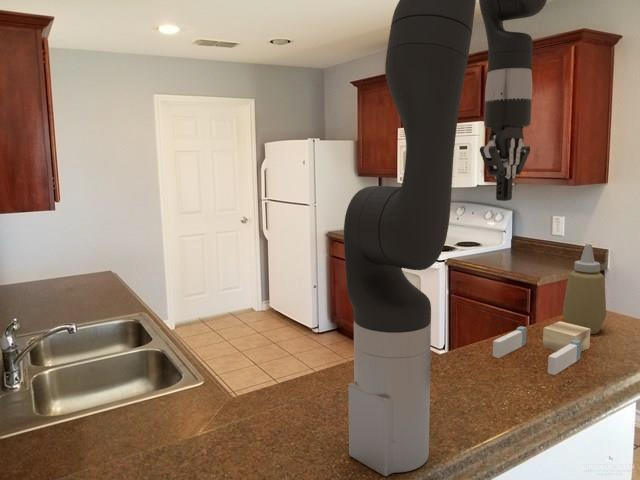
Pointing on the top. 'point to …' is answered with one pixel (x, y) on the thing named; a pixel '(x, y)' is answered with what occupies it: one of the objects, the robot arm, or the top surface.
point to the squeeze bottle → (585, 293)
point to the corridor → (555, 360)
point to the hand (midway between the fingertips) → (503, 200)
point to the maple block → (565, 335)
